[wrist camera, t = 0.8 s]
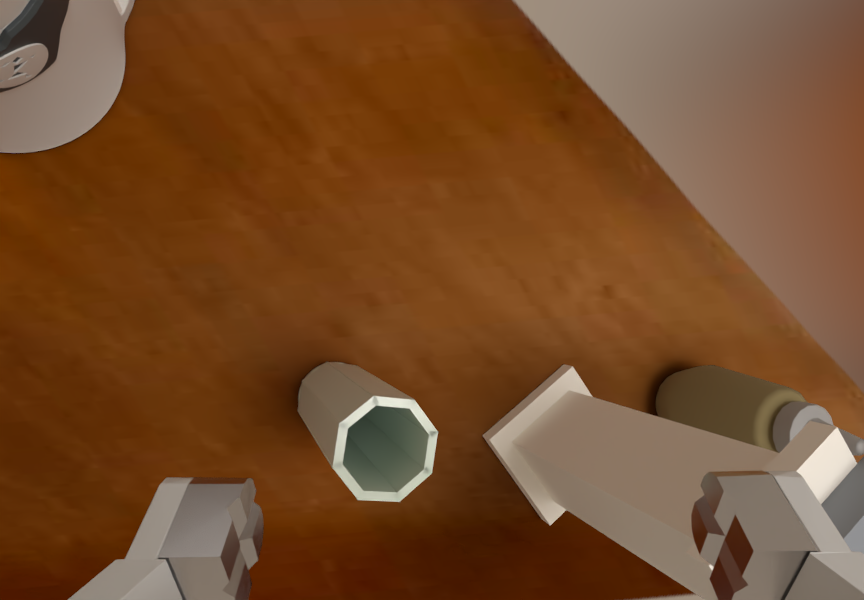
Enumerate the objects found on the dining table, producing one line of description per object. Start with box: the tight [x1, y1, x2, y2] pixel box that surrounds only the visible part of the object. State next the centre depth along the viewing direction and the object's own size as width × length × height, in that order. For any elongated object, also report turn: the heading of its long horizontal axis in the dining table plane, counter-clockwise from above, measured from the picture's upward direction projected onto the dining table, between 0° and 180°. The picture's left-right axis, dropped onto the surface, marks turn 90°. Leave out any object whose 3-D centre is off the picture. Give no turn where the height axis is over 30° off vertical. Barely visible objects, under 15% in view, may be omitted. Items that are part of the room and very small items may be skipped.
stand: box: [483, 365, 857, 600], centre depth 43 cm, size 10×10×26 cm
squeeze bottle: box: [656, 365, 864, 455], centre depth 51 cm, size 8×8×18 cm
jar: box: [297, 362, 438, 502], centre depth 41 cm, size 6×6×16 cm
